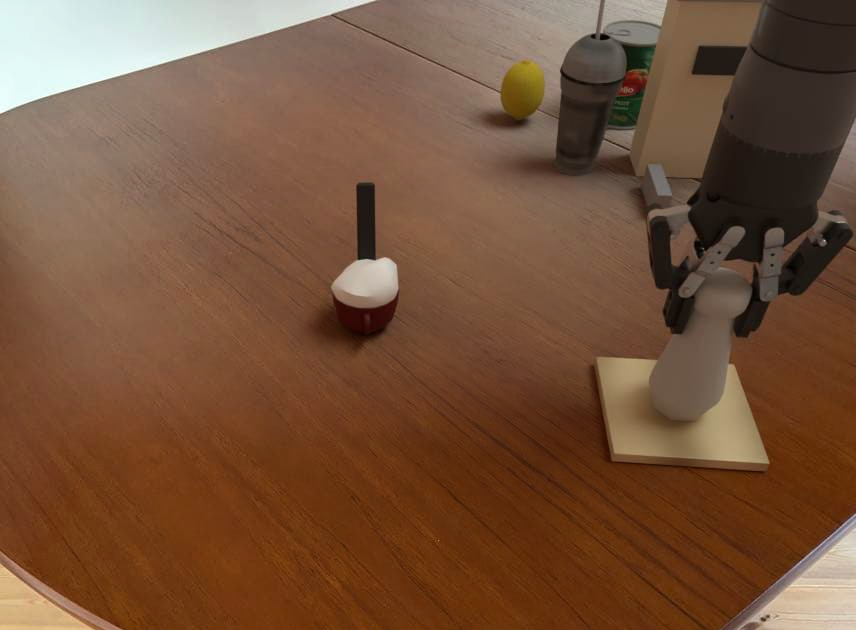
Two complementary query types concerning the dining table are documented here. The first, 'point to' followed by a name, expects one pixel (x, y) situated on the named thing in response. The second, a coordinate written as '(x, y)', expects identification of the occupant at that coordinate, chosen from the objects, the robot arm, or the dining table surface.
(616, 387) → the plate
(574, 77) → the beverage cup
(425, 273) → the dining table surface
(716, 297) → the salt shaker
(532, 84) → the lemon
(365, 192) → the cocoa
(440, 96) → the dining table surface
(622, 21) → the canned tomato
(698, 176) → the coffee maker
